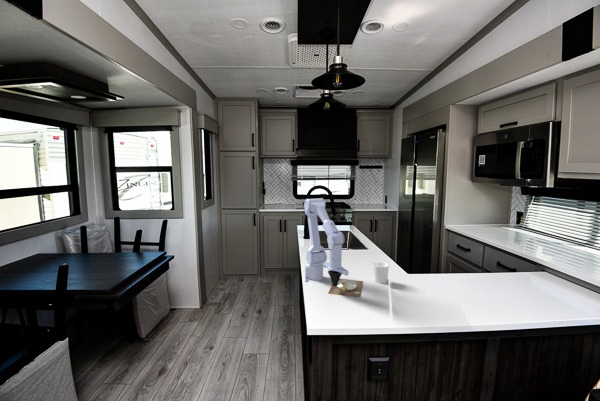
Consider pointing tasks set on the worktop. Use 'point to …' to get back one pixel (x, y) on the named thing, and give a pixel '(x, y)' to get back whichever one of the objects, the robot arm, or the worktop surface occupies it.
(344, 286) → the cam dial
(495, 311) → the worktop surface
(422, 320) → the worktop surface
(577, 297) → the worktop surface
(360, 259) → the worktop surface
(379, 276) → the white cup
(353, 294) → the brown flat rectangular slab
